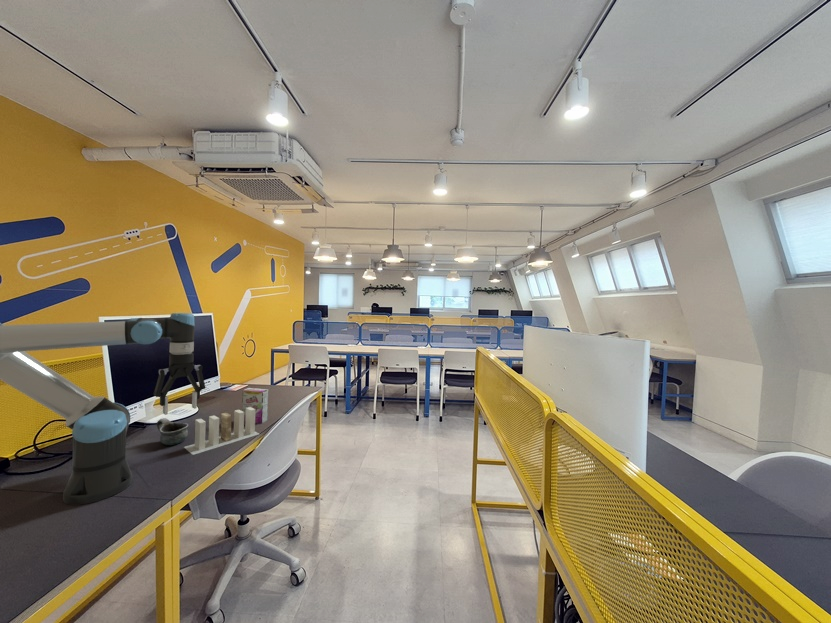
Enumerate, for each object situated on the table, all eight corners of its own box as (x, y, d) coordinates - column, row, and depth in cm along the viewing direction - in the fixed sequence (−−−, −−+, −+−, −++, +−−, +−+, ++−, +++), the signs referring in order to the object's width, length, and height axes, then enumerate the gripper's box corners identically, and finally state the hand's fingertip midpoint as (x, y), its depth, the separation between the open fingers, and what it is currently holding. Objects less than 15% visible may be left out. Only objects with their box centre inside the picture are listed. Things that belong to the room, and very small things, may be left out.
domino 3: (238, 438, 135) (239, 413, 135) (233, 434, 138) (234, 410, 138) (243, 436, 137) (244, 412, 137) (238, 433, 140) (238, 409, 140)
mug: (176, 449, 124) (176, 424, 124) (145, 447, 124) (145, 423, 124) (193, 438, 134) (194, 416, 134) (164, 437, 134) (165, 414, 134)
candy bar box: (240, 422, 153) (241, 390, 153) (247, 418, 158) (248, 387, 158) (262, 424, 152) (263, 391, 152) (267, 420, 157) (268, 388, 157)
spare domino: (225, 442, 131) (226, 416, 131) (220, 438, 134) (221, 413, 134) (230, 440, 133) (231, 415, 133) (225, 437, 136) (226, 412, 136)
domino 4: (250, 434, 140) (251, 410, 139) (245, 431, 142) (245, 407, 142) (254, 433, 141) (255, 409, 141) (249, 430, 144) (250, 406, 144)
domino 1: (199, 450, 123) (200, 423, 123) (194, 446, 126) (195, 419, 126) (205, 448, 125) (205, 421, 125) (200, 444, 128) (200, 418, 128)
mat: (192, 455, 119) (192, 454, 119) (183, 448, 125) (183, 447, 125) (259, 434, 140) (259, 433, 140) (249, 428, 146) (249, 428, 146)
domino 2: (213, 445, 127) (214, 419, 127) (208, 442, 130) (209, 416, 130) (218, 444, 129) (219, 418, 129) (213, 440, 132) (214, 415, 132)
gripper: (149, 357, 108) (147, 420, 109) (216, 351, 126) (214, 406, 126) (143, 354, 113) (141, 415, 113) (209, 349, 130) (207, 402, 131)
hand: (180, 410), depth 120 cm, fingers open, 9 cm apart
